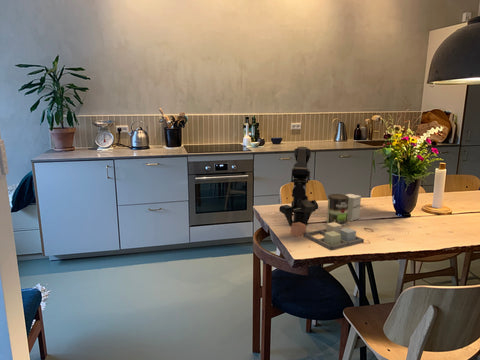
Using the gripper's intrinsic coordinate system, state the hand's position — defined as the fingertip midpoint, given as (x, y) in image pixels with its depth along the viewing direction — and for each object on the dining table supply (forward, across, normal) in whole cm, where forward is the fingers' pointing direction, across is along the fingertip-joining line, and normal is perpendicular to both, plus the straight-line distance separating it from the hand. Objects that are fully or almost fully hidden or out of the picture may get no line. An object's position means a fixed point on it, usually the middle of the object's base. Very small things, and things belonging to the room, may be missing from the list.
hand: (298, 224), depth 183 cm
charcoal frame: (+5, +10, -13) cm, 17 cm away
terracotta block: (+5, 0, 0) cm, 5 cm away
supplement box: (+5, +39, +6) cm, 40 cm away
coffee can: (+5, +28, +4) cm, 29 cm away
